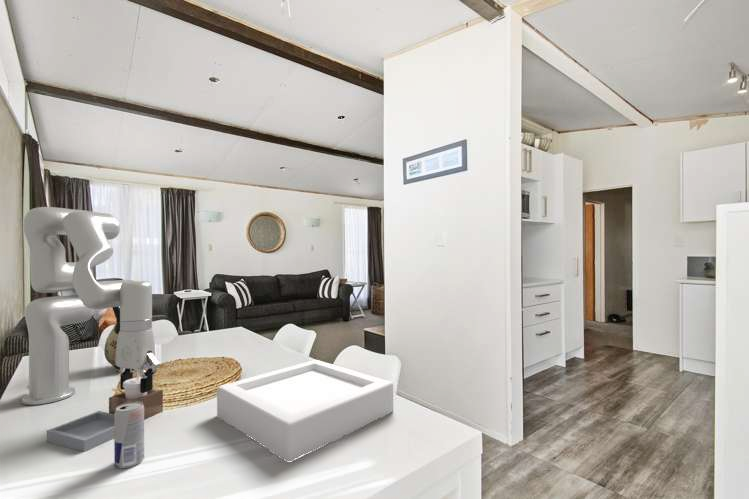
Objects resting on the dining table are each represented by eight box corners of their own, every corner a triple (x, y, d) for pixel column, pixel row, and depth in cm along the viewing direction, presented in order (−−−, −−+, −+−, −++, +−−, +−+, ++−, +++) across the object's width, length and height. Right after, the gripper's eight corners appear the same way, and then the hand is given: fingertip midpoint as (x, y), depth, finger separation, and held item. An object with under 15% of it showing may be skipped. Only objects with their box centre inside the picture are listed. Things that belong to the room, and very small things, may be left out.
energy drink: (123, 456, 82) (123, 401, 82) (149, 454, 82) (149, 400, 82) (108, 470, 77) (108, 412, 77) (135, 468, 77) (135, 410, 77)
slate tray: (46, 441, 89) (46, 430, 89) (98, 420, 100) (98, 410, 100) (84, 451, 84) (84, 440, 84) (135, 428, 95) (135, 418, 95)
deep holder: (108, 419, 100) (108, 397, 100) (140, 407, 109) (140, 386, 109) (132, 425, 97) (132, 402, 97) (162, 411, 105) (162, 390, 106)
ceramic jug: (126, 362, 155) (126, 290, 156) (159, 363, 153) (159, 290, 154) (89, 375, 139) (89, 295, 139) (126, 376, 136) (126, 295, 137)
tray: (216, 418, 102) (215, 385, 102) (316, 384, 128) (316, 358, 128) (288, 466, 78) (288, 424, 78) (394, 413, 104) (394, 381, 104)
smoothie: (136, 421, 99) (136, 369, 99) (116, 419, 100) (116, 367, 101) (155, 411, 105) (155, 362, 106) (136, 409, 107) (136, 361, 107)
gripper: (101, 326, 103) (101, 390, 102) (146, 330, 97) (146, 398, 96) (127, 321, 110) (127, 381, 110) (171, 325, 104) (171, 388, 103)
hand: (136, 389), depth 103 cm, fingers open, 7 cm apart
